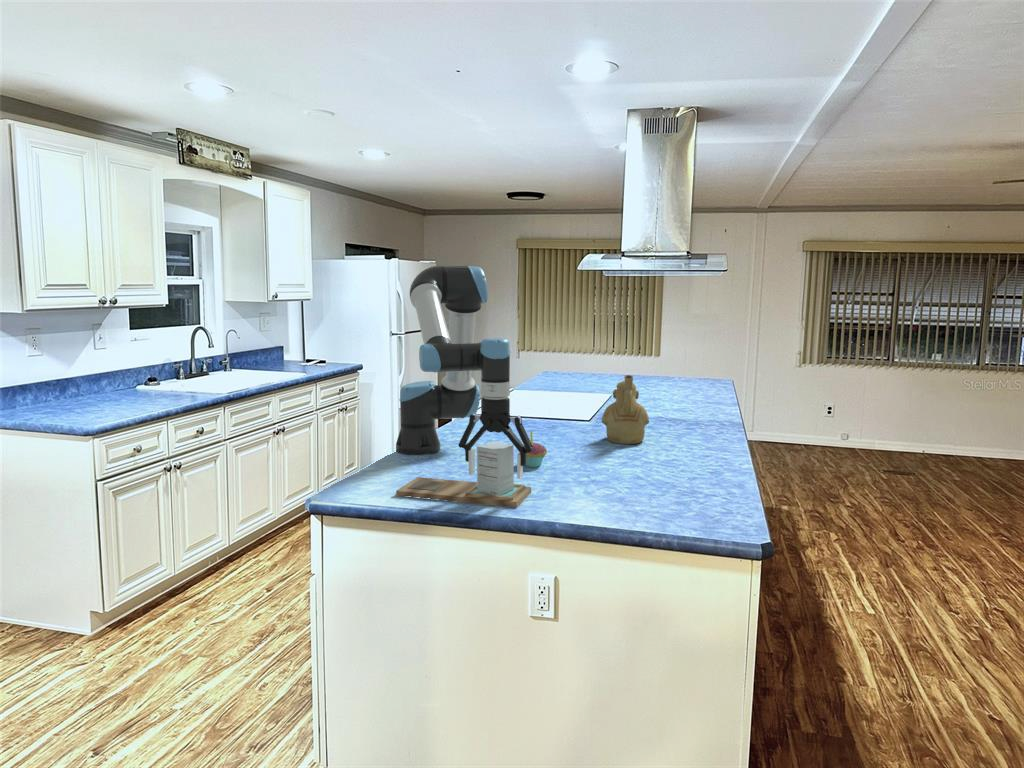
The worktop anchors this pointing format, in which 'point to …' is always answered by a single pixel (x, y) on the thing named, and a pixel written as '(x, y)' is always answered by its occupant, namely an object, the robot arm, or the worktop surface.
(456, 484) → the board
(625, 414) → the ceramic vessel
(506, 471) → the supplement box
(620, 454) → the worktop surface
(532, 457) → the cupcake
